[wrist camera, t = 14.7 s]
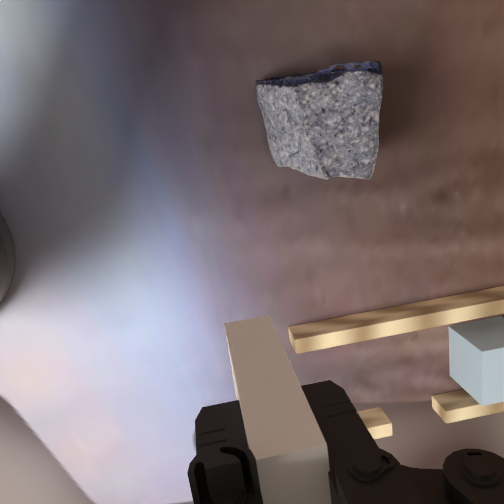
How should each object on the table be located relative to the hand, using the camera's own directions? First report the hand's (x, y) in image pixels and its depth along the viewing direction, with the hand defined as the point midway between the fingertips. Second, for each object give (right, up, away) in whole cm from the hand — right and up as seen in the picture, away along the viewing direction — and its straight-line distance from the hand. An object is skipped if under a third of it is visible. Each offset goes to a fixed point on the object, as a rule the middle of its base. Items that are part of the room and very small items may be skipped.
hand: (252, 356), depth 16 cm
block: (+24, -7, +36) cm, 44 cm away
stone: (+5, +15, +28) cm, 32 cm away
